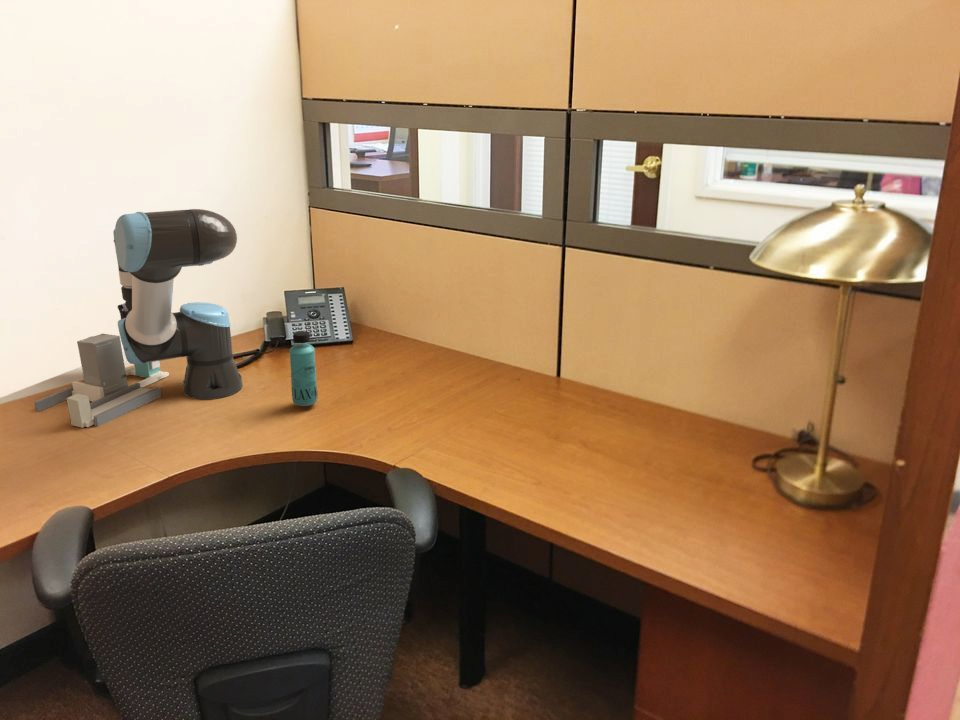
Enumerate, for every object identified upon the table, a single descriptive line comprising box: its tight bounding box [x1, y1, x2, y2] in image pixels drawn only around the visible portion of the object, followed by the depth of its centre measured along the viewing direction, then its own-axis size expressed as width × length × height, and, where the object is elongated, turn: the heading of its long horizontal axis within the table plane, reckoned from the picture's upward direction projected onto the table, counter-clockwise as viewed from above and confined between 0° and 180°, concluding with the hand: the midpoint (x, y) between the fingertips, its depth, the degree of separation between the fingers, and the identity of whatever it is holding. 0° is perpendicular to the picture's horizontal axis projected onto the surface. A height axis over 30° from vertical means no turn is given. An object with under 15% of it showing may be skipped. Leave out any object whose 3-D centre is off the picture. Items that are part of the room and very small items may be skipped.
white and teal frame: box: [71, 362, 170, 403], centre depth 202 cm, size 11×22×11 cm, turn 157°
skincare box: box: [76, 333, 129, 397], centre depth 196 cm, size 8×7×16 cm
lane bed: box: [34, 380, 162, 427], centre depth 193 cm, size 21×20×2 cm
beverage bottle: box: [289, 330, 319, 407], centre depth 191 cm, size 6×7×20 cm
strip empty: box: [66, 387, 152, 429], centre depth 189 cm, size 5×22×7 cm, turn 157°
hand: (147, 365), depth 211 cm, fingers closed on white and teal frame, 5 cm apart
